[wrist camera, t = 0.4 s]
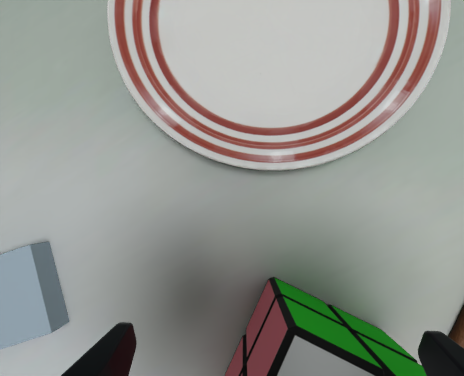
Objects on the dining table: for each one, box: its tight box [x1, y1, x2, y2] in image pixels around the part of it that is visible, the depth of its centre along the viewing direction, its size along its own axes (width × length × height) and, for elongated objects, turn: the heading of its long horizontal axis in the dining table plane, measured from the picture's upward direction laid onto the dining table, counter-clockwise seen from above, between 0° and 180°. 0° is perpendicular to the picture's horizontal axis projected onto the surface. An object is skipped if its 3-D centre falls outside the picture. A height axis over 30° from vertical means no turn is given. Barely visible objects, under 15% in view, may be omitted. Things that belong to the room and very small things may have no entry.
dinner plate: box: [107, 0, 451, 171], centre depth 23 cm, size 27×27×3 cm
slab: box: [0, 242, 69, 349], centre depth 22 cm, size 7×7×2 cm
